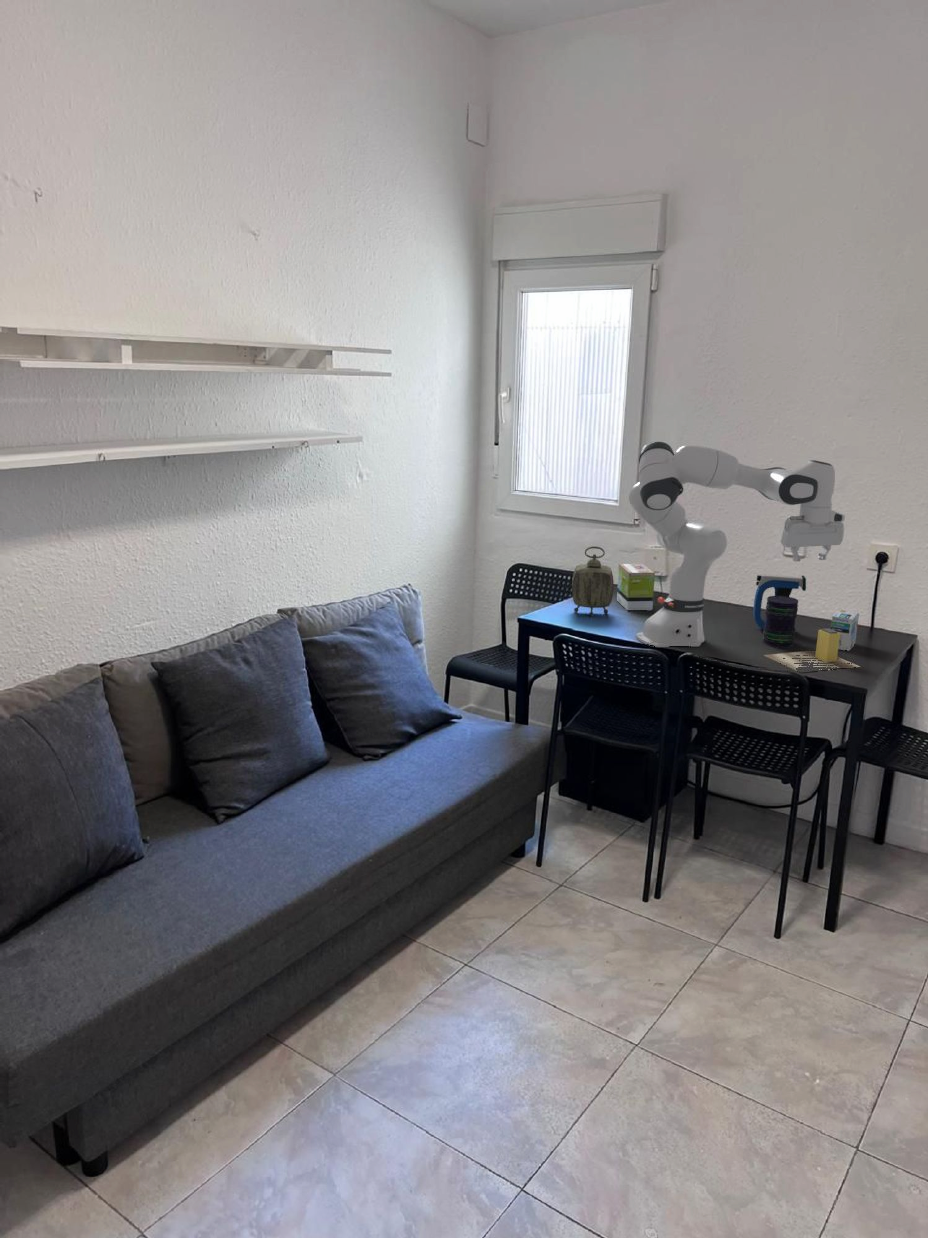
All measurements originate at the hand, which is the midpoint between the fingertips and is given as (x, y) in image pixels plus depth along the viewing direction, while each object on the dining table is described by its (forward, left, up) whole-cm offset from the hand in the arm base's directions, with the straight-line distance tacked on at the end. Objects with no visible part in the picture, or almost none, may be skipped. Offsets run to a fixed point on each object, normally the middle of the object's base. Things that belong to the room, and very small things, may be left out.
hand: (809, 560), depth 286 cm
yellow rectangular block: (+7, -4, -31) cm, 32 cm away
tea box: (-18, +71, -31) cm, 80 cm away
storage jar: (+4, +15, -31) cm, 35 cm away
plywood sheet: (+2, -4, -31) cm, 31 cm away
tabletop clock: (-40, +63, -31) cm, 81 cm away
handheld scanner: (+13, +28, -31) cm, 44 cm away
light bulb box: (+23, +7, -31) cm, 39 cm away
